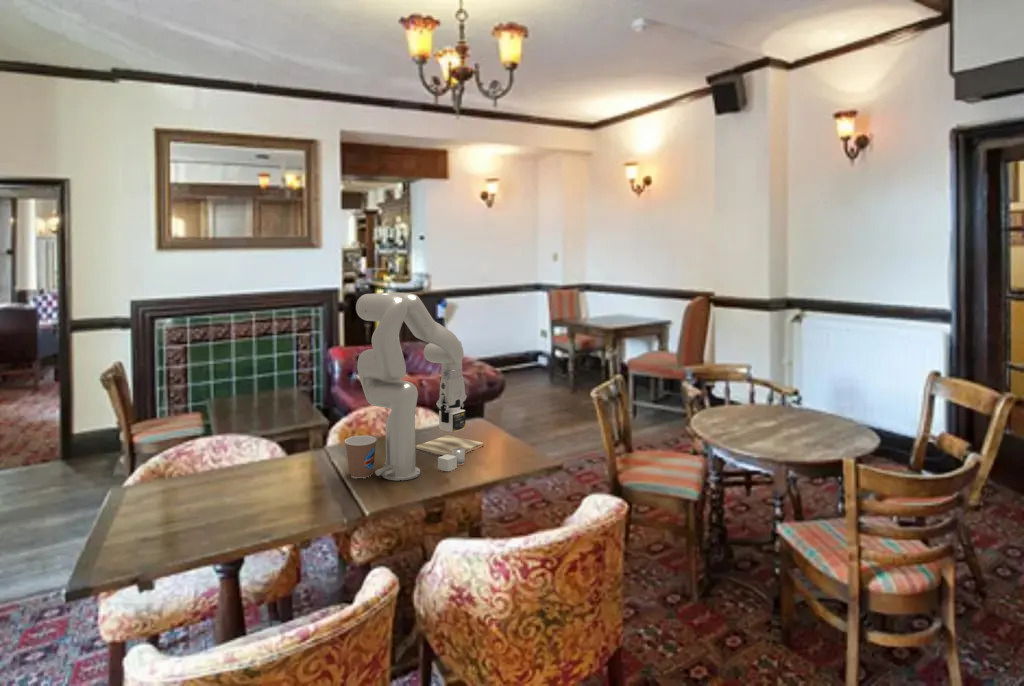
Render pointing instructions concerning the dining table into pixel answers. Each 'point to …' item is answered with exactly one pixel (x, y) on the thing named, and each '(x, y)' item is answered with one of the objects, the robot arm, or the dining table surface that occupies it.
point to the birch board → (448, 444)
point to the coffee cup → (361, 455)
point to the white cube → (447, 462)
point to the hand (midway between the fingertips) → (452, 419)
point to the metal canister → (459, 455)
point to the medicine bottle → (453, 418)
